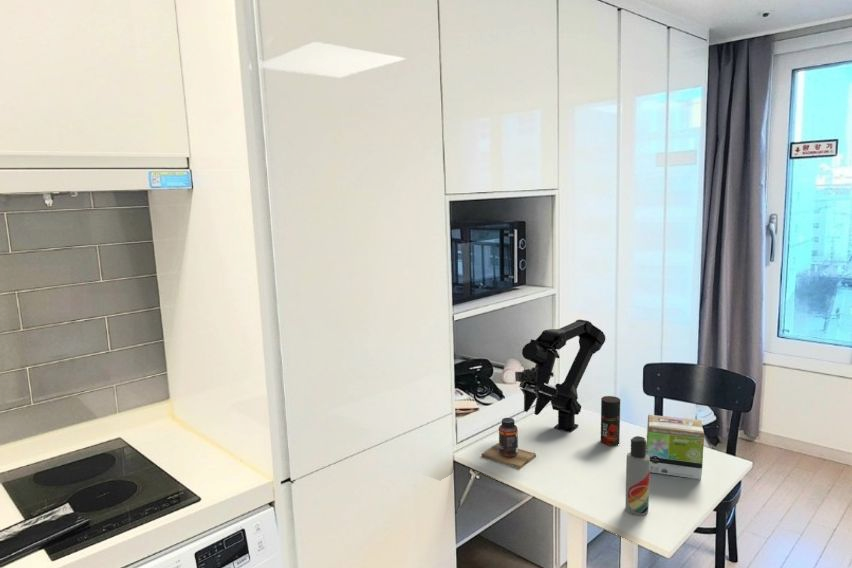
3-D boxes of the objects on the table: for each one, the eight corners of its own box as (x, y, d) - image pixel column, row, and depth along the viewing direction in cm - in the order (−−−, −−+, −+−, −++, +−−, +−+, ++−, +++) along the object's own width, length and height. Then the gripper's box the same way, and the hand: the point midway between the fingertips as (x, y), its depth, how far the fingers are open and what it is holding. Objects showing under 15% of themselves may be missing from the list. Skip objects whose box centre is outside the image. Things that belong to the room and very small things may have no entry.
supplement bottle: (522, 454, 184) (521, 420, 182) (508, 459, 180) (507, 425, 178) (508, 447, 188) (508, 414, 187) (495, 452, 185) (494, 419, 183)
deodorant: (621, 440, 193) (622, 397, 190) (616, 447, 188) (617, 403, 185) (603, 437, 196) (604, 394, 194) (598, 444, 191) (599, 400, 189)
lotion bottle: (645, 518, 148) (648, 444, 145) (623, 512, 151) (624, 440, 148) (650, 507, 153) (652, 436, 150) (628, 502, 156) (629, 431, 153)
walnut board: (498, 445, 192) (498, 442, 192) (535, 456, 184) (535, 453, 184) (481, 457, 185) (481, 454, 185) (520, 469, 176) (520, 466, 176)
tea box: (646, 473, 171) (647, 426, 168) (645, 458, 180) (647, 413, 178) (702, 480, 166) (704, 432, 163) (699, 464, 175) (701, 418, 172)
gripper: (512, 359, 200) (499, 403, 197) (532, 360, 182) (518, 408, 179) (541, 369, 202) (528, 413, 199) (564, 371, 183) (550, 419, 181)
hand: (530, 413), depth 189 cm, fingers open, 9 cm apart
